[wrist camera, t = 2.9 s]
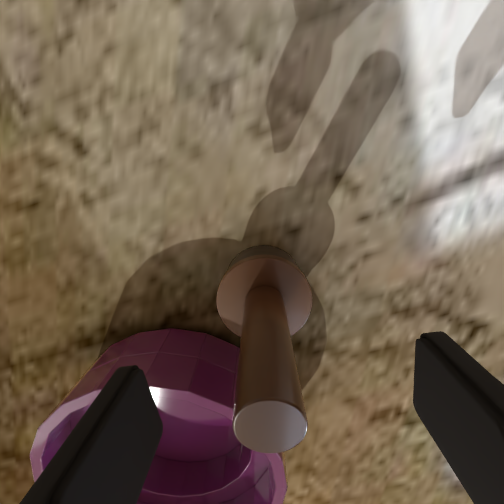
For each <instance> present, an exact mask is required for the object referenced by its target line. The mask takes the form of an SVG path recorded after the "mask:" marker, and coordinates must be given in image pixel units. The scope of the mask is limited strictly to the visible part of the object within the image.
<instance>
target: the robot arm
mask: <svg viewBox="0 0 504 504" xmlns="http://www.w3.org/2000/svg"><path fill="white" fill-rule="evenodd" d="M413 403H414V407H415V410H416V412H417V414H418V416H419V417H420V419H421V420H422V422H423V424H424V425H425V427H426V428H427V430H428V431H429V433H430V435H431V436H432V438H433V439H434V441H435V443H436V444H437V446H438V447H439V449H440V450H441V452H442V454H443V455H444V457H445V458H446V460H447V462H448V463H449V465H450V466H451V468H452V469H453V471H454V473H455V474H456V476H457V477H458V479H459V480H460V482H461V484H462V485H463V487H464V488H465V490H466V492H467V493H468V495H469V496H470V498H471V499H472V501H473V503H474V504H504V385H503V384H502V383H501V382H500V381H499V380H498V379H496V378H495V377H494V376H492V375H491V374H490V373H489V372H488V371H487V370H486V369H485V368H484V367H482V366H481V365H480V364H479V363H478V362H477V361H476V360H475V359H474V358H472V357H471V356H470V355H469V354H468V353H467V352H466V351H465V350H464V349H462V348H461V347H460V346H459V345H458V344H457V343H456V342H455V341H454V340H452V339H451V338H450V337H449V336H448V335H447V334H446V333H444V332H441V331H440V332H431V333H423V334H421V336H420V339H417V340H416V347H415V370H414V393H413ZM162 433H163V423H162V420H161V418H160V415H159V412H158V409H157V407H156V404H155V401H154V399H153V396H152V393H151V390H150V388H149V385H148V382H147V380H146V377H145V374H144V372H143V370H142V369H139V367H138V366H137V365H132V366H123V367H119V368H117V370H116V371H115V372H114V373H113V375H112V376H111V378H110V379H109V380H108V382H107V383H106V385H105V386H104V387H103V389H102V390H101V392H100V393H99V394H98V396H97V397H96V398H95V400H94V401H93V403H92V404H91V405H90V407H89V408H88V410H87V411H86V412H85V414H84V415H83V416H82V418H81V419H80V421H79V422H78V423H77V425H76V426H75V428H74V429H73V430H72V432H71V433H70V434H69V436H68V437H67V439H66V440H65V441H64V443H63V444H62V446H61V447H60V448H59V450H58V451H57V453H56V454H55V455H54V457H53V458H52V459H51V461H50V462H49V464H48V465H47V466H46V468H45V469H44V471H43V472H42V473H41V475H40V476H39V477H38V479H37V480H36V482H35V483H34V484H33V486H32V487H31V489H30V490H29V491H28V493H27V494H26V495H25V497H24V498H23V500H22V501H21V502H20V504H136V503H137V501H138V498H139V495H140V493H141V490H142V487H143V485H144V482H145V479H146V477H147V474H148V471H149V469H150V466H151V463H152V461H153V458H154V455H155V453H156V450H157V447H158V444H159V442H160V439H161V436H162Z"/></svg>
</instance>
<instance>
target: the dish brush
mask: <svg viewBox="0 0 504 504" xmlns="http://www.w3.org/2000/svg"><path fill="white" fill-rule="evenodd" d="M216 304H217V310H218V313H219V316H220V318H221V320H222V321H223V323H224V324H225V325H226V327H227V328H228V329H229V330H230V331H231V332H233V333H234V334H235V335H237V336H239V337H241V342H240V352H239V362H238V372H237V382H236V391H235V401H234V411H233V421H232V426H233V431H234V434H235V436H236V438H237V439H238V440H239V441H240V442H241V443H242V444H243V445H244V446H246V447H247V448H249V449H251V450H254V451H256V452H261V453H280V452H284V451H287V450H290V449H292V448H293V447H295V446H296V445H298V444H299V443H300V442H301V441H302V440H303V438H304V436H305V435H306V432H307V426H308V422H307V417H306V412H305V407H304V401H303V396H302V391H301V386H300V381H299V376H298V371H297V366H296V361H295V356H294V350H293V345H292V340H291V336H292V335H293V334H295V333H296V332H297V331H298V330H299V329H300V328H302V326H303V325H304V324H305V322H306V321H307V319H308V317H309V315H310V312H311V309H312V292H311V288H310V285H309V283H308V281H307V279H306V277H305V275H304V274H303V272H302V271H301V270H300V269H299V268H298V266H297V264H296V262H295V261H294V260H293V258H292V257H291V256H290V255H288V254H287V253H286V252H284V251H283V250H281V249H278V248H275V247H272V246H255V247H251V248H248V249H246V250H244V251H242V252H241V253H240V254H238V255H237V256H236V257H235V258H234V259H233V261H232V262H231V264H230V265H229V268H228V270H227V272H226V273H225V275H224V276H223V278H222V280H221V282H220V284H219V288H218V291H217V297H216Z"/></svg>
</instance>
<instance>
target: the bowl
mask: <svg viewBox="0 0 504 504" xmlns="http://www.w3.org/2000/svg"><path fill="white" fill-rule="evenodd" d="M239 352H240V348H239V347H237V346H235V345H233V344H230V343H228V342H226V341H224V340H221V339H219V338H217V337H214V336H212V335H210V334H206V333H202V332H195V331H188V330H181V329H174V328H170V329H162V330H154V331H147V332H139V333H137V334H135V335H132V336H130V337H128V338H126V339H124V340H122V341H119V342H117V343H115V344H113V345H111V346H110V347H109V348H108V349H107V350H106V351H105V352H104V353H103V354H102V355H101V356H100V357H99V358H98V359H97V360H96V361H95V362H94V363H93V364H92V365H91V366H90V367H89V369H88V370H87V371H86V372H85V373H84V374H83V376H82V377H81V378H80V379H79V380H78V382H77V383H76V384H75V385H74V386H73V387H72V389H71V390H70V391H69V392H68V393H67V394H66V396H65V397H64V398H63V399H62V400H61V401H60V403H59V404H58V405H57V406H56V407H55V409H54V410H53V411H52V412H51V413H50V414H49V416H48V417H47V418H46V419H45V420H44V421H43V423H42V424H41V425H40V426H39V428H38V430H37V433H36V436H35V439H34V442H33V445H32V449H31V452H30V461H31V466H32V472H33V478H34V482H36V480H37V479H38V477H39V476H40V475H41V473H42V472H43V471H44V469H45V468H46V466H47V465H48V464H49V462H50V461H51V459H52V458H53V457H54V455H55V454H56V453H57V451H58V450H59V448H60V447H61V446H62V444H63V443H64V441H65V440H66V439H67V437H68V436H69V434H70V433H71V432H72V430H73V429H74V428H75V426H76V425H77V423H78V422H79V421H80V419H81V418H82V416H83V415H84V414H85V412H86V411H87V410H88V408H89V407H90V405H91V404H92V403H93V401H94V400H95V398H96V397H97V396H98V394H99V393H100V392H101V390H102V389H103V387H104V386H105V385H106V383H107V382H108V380H109V379H110V378H111V376H112V375H113V373H114V372H115V371H116V370H117V368H119V367H123V366H132V365H137V366H138V367H139V369H142V370H143V372H144V374H145V377H146V380H147V382H148V385H149V388H150V390H151V393H152V396H153V399H154V401H155V404H156V407H157V409H158V412H159V415H160V418H161V420H162V423H163V433H162V436H161V439H160V442H159V444H158V447H157V450H156V453H155V455H154V458H153V461H152V463H151V466H150V469H149V471H148V474H147V477H146V479H145V482H144V485H143V487H142V490H141V493H140V495H139V498H138V501H137V503H136V504H283V501H284V498H285V494H286V491H287V476H286V465H285V455H284V452H280V453H261V452H256V451H254V450H251V449H249V448H247V447H246V446H244V445H243V444H242V443H241V442H240V441H239V440H238V439H237V438H236V436H235V434H234V431H233V426H232V421H233V411H234V401H235V391H236V382H237V372H238V362H239Z"/></svg>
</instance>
